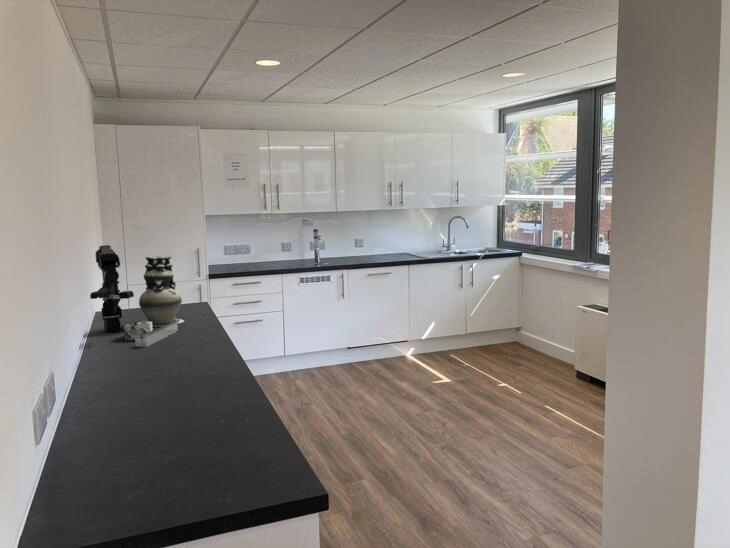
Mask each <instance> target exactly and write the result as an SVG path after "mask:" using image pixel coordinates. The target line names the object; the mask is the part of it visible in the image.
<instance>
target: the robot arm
mask: <svg viewBox="0 0 730 548" xmlns="http://www.w3.org/2000/svg"><path fill="white" fill-rule="evenodd" d="M98 248H99V249H97V250H96V251H95V262H96V263H97V267H98V269H100V270H101V273H102V274H101V275H102V281H103V282H102V284H101V285H102V286H101V287H99V289H98V290H96V291H92V292H90V299H91V300H93V299H95V300H96V299H101V300H102V301H103V303H102V307H101V308H100V310H101V319H102V321H103V323H104V326H103V327H104V329H103V330H102V333H116V332H118V331H120V330H122V326H121V321H120V319H122V318H123V313H122V312H123V311H122V310H123V309H122V307H121V306H120V305H119V304H120V301H121V300H123V299H130V298H134V297H135V295H134V291H133V290H124V291H121V289H119V285H118V284H120V281H119V280H118V279H119V278H120V274H119V272H118V271H117V268H120V266H121V261H120V257H119V255H118V254H117V253H116V251H114V250H113V249H112V248H111V245H108V244H107V245H99V247H98Z"/></svg>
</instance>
